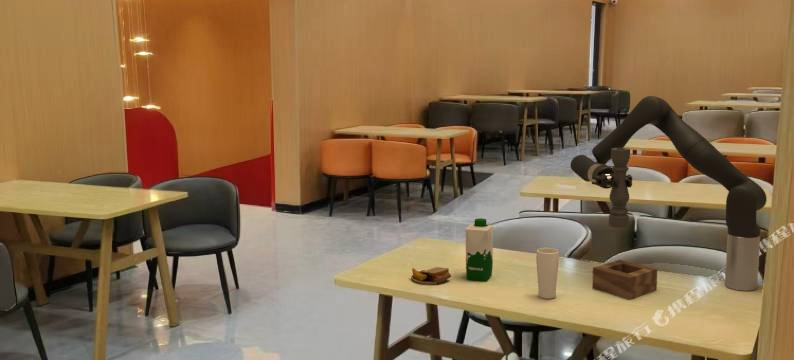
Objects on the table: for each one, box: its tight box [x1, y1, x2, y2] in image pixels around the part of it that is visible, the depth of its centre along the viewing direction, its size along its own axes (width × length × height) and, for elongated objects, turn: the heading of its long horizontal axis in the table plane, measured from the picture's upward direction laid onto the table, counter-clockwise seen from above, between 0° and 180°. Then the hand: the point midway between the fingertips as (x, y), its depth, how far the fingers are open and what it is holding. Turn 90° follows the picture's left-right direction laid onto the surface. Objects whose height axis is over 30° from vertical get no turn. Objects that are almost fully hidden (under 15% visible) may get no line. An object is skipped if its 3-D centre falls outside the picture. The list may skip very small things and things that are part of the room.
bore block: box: [592, 259, 658, 300], centre depth 222 cm, size 14×14×7 cm
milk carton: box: [464, 217, 494, 283], centre depth 237 cm, size 9×9×20 cm
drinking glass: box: [535, 247, 560, 300], centre depth 216 cm, size 7×7×15 cm
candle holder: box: [608, 147, 631, 229], centre depth 223 cm, size 6×6×25 cm
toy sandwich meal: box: [410, 266, 452, 285], centre depth 238 cm, size 12×14×5 cm
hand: (623, 184), depth 220 cm, fingers closed on candle holder, 4 cm apart
